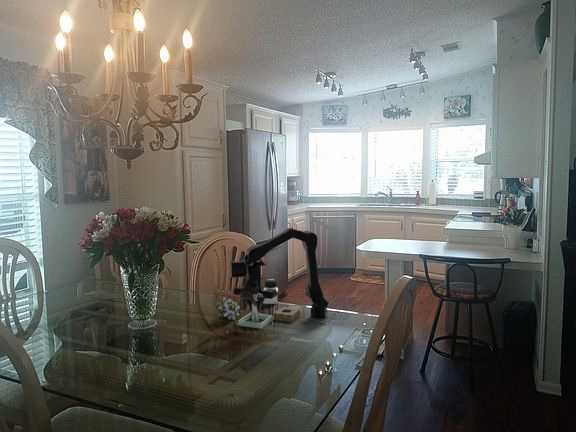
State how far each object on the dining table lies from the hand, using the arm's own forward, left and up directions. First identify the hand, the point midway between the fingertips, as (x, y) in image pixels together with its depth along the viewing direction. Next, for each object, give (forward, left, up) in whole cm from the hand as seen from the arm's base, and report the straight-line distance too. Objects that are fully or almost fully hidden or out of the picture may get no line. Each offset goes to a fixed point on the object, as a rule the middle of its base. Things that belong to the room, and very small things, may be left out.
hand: (255, 311), depth 192 cm
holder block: (-10, -11, -6) cm, 16 cm away
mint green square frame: (0, 0, -6) cm, 6 cm away
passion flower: (+16, -3, -6) cm, 17 cm away
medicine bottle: (+7, -30, -6) cm, 31 cm away
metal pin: (0, 0, -4) cm, 4 cm away
